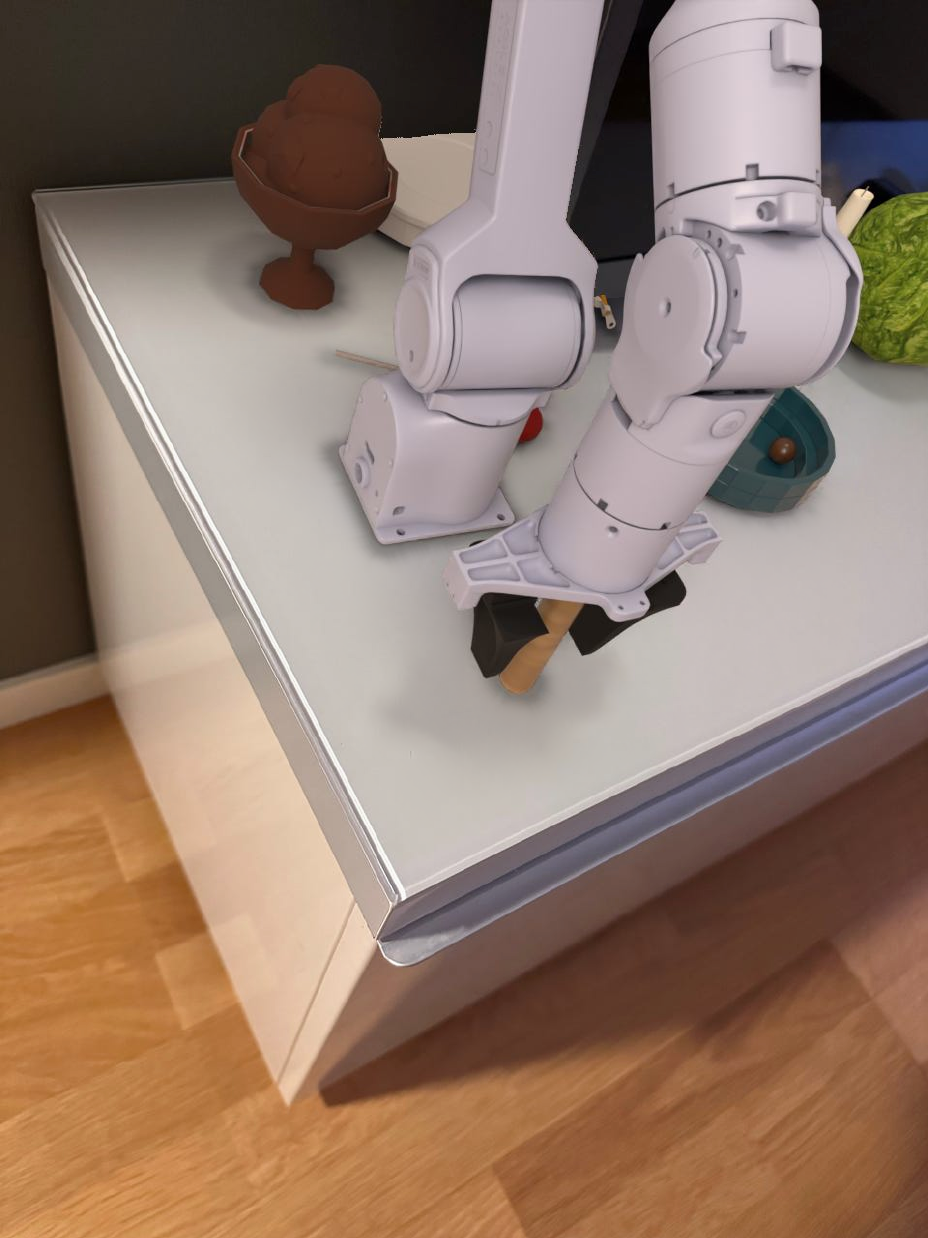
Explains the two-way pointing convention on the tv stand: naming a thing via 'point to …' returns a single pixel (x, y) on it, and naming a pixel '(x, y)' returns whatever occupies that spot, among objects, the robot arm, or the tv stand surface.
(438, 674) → the tv stand surface
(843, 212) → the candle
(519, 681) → the stirring stick
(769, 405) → the bowl
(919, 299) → the lettuce
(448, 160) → the lid
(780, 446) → the hazelnut
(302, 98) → the ice cream bowl
